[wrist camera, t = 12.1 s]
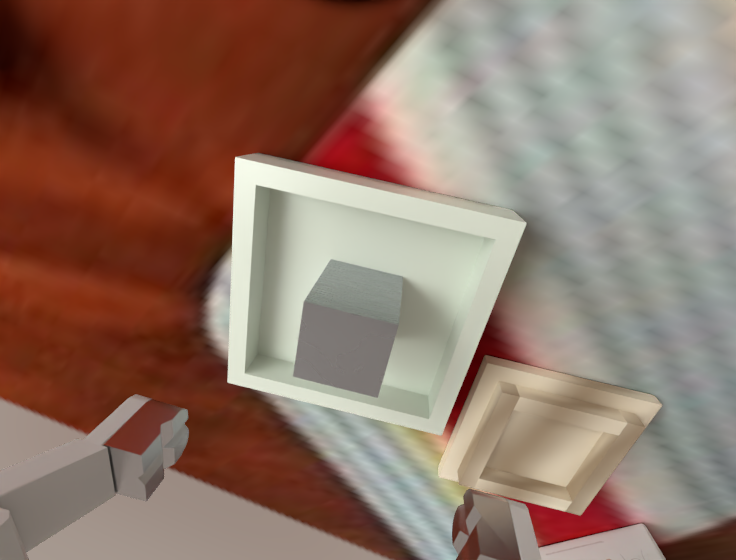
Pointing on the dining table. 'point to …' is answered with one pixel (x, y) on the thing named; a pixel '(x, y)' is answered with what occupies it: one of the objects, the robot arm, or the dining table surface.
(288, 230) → the tray
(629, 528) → the small box
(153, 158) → the dining table surface
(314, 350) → the gray block
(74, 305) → the dining table surface
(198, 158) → the dining table surface
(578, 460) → the socket holder
